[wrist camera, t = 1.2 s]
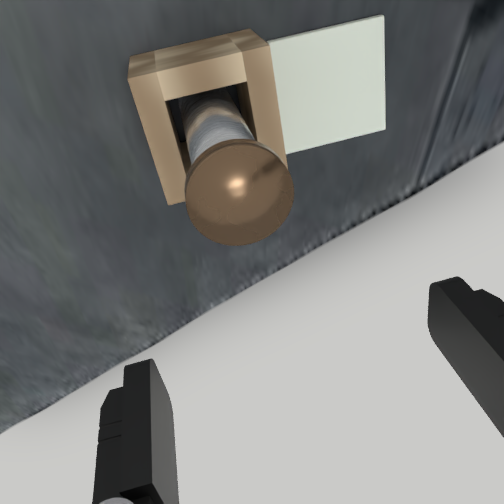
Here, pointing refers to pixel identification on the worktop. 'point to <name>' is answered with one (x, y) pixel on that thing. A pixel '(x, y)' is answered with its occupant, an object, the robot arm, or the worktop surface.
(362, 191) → the worktop surface
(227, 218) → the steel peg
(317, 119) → the sage mat
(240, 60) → the oak eye block
